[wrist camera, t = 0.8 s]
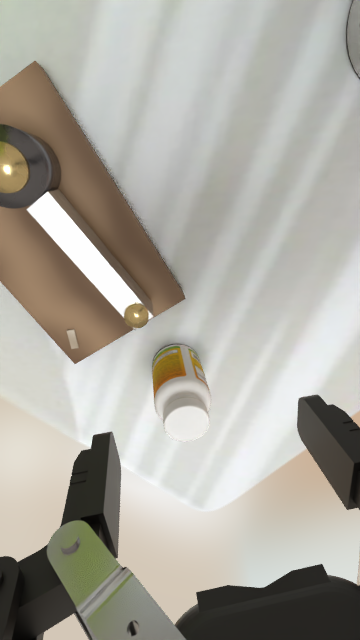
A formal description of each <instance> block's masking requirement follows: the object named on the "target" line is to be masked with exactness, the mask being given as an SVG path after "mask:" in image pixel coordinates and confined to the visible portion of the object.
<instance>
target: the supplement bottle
mask: <svg viewBox="0 0 360 640" xmlns="http://www.w3.org/2000/svg"><path fill="white" fill-rule="evenodd" d="M152 374H153V389H154V404H155V410H156V412H157V414H158V416H159V417H160V419H161V420H163V423H164V429H165V432H166V433H167V435H168V436H169V437H171V438H172V439H174V440H177V441H182V442H187V441H192V440H195V439H198V438H200V437H201V436H202V435H203V434H204V433H205V432H206V431H207V429H208V427H209V424H210V419H209V414H208V412H209V410H210V407H211V395H210V391H209V388H208V385H207V381H206V378H205V375H204V372H203V369H202V366H201V362H200V360H199V357H198V355H197V354H196V352H195V351H194V350H193V349H191V348H190V347H188V346H185V345H179V344H176V345H170V346H167V347H165V348H163V349H162V350H160V351H159V352H158V353H157V355H156V356H155V358H154V360H153V364H152Z"/></svg>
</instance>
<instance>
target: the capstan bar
mask: <svg viewBox="0 0 360 640" xmlns="http://www.w3.org/2000/svg"><path fill="white" fill-rule="evenodd" d="M60 181H61V168H60V163H59V160H58V158H57V156H56V154H55V152H54V151H53V149H52V148H51V147H50V146H49V145H48V144H47V143H46V142H45V141H44V140H42V139H41V138H39V137H38V136H36V135H33V134H31V133H28V132H25V131H22V130H20V129H17V128H14V127H12V126H8V125H5V124H0V206H1V207H5V208H11V209H16V208H23V207H26V206H30V205H31V206H30V207H29V208H28V209H27V211H28V212H29V213H30V214H31V215H32V216H33V217H34V218H35V220H36V221H37V222H38V223H39V224H40V225H41V226H42V227H43V228H44V230H45V231H46V232H47V233H48V234H49V235H50V236H51V237H52V239H53V240H54V241H55V242H56V243H57V244H58V245H59V246H60V247H61V249H62V250H63V251H64V252H65V253H66V254H67V255H68V256H69V257H70V259H71V260H72V261H73V262H74V263H75V264H76V265H77V266H78V267H79V269H80V270H81V271H82V272H83V273H84V274H85V275H86V276H87V277H88V279H89V280H90V281H91V282H92V283H93V284H94V285H95V286H96V287H97V289H98V290H99V291H100V292H101V293H102V294H103V295H104V296H105V297H106V299H107V300H108V301H109V302H110V303H111V304H112V305H113V306H114V307H115V309H116V310H117V311H118V312H119V313H120V314H121V315H122V316H123V317H124V320H125V322H126V324H127V325H128V326H130V327H132V328H133V329H134V330H135V329H137V328H141V327H143V326H145V325H146V324H147V322H148V320H149V319H151V318H152V317H153V305H152V301H151V300H150V299H149V297H148V296H147V295H146V294H145V293H144V291H143V290H142V289H141V288H140V287H139V285H138V284H137V283H136V282H135V281H134V279H133V278H132V277H131V276H130V275H129V273H128V272H127V271H126V270H125V268H124V267H123V266H122V265H121V264H120V262H119V261H118V260H117V259H116V258H115V256H114V255H113V254H112V253H111V252H110V250H109V249H108V248H107V247H106V246H105V244H104V243H103V242H102V241H101V240H100V238H99V237H98V236H97V235H96V233H95V232H94V231H93V230H92V229H91V227H90V226H89V225H88V224H87V223H86V221H85V220H84V219H83V218H82V217H81V215H80V214H79V213H78V212H77V211H76V209H75V208H74V207H73V206H72V204H71V203H70V202H69V201H68V200H67V198H66V197H65V196H64V195H63V194H62V192H61V191H60V190H57V189H58V187H59V185H60Z"/></svg>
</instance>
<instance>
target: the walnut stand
mask: <svg viewBox="0 0 360 640" xmlns="http://www.w3.org/2000/svg"><path fill="white" fill-rule="evenodd" d="M0 124H5V125H8V126H12V127H14V128H17V129H20V130H22V131H25V132H28V133H31V134H33V135H36V136H38V137H39V138H41V139H42V140H44V141H45V142H46V143H47V144H48V145H49V146H50V147H51V148H52V149H53V151H54V152H55V154H56V156H57V158H58V160H59V163H60V168H61V181H60V185H59V187H58V189H57V190H60V191H61V192H62V194H63V195H64V196H65V197H66V198H67V200H68V201H69V202H70V203H71V204H72V206H73V207H74V208H75V209H76V211H77V212H78V213H79V214H80V215H81V217H82V218H83V219H84V220H85V221H86V223H87V224H88V225H89V226H90V227H91V229H92V230H93V231H94V232H95V233H96V235H97V236H98V237H99V238H100V240H101V241H102V242H103V243H104V244H105V246H106V247H107V248H108V249H109V250H110V252H111V253H112V254H113V255H114V256H115V258H116V259H117V260H118V261H119V262H120V264H121V265H122V266H123V267H124V268H125V270H126V271H127V272H128V273H129V275H130V276H131V277H132V278H133V279H134V281H135V282H136V283H137V284H138V285H139V287H140V288H141V289H142V290H143V291H144V293H145V294H146V295H147V296H148V297H149V299H150V300H151V301H152V305H153V317H152V318H154V317H155V316H157V315H159V314H160V313H162V312H164V311H165V310H167V309H169V308H171V307H172V306H174V305H176V304H177V303H179V302H181V301H182V300H184V299H185V296H184V293H183V291H182V289H181V288H180V286H179V285H178V283H177V282H176V280H175V278H174V277H173V275H172V274H171V272H170V270H169V269H168V267H167V266H166V264H165V262H164V261H163V259H162V258H161V256H160V254H159V253H158V251H157V250H156V248H155V246H154V245H153V243H152V242H151V240H150V238H149V237H148V235H147V234H146V232H145V230H144V229H143V227H142V226H141V224H140V223H139V221H138V219H137V218H136V216H135V215H134V213H133V211H132V210H131V208H130V207H129V205H128V203H127V202H126V200H125V199H124V197H123V195H122V194H121V192H120V191H119V189H118V187H117V186H116V184H115V183H114V181H113V179H112V178H111V176H110V175H109V173H108V172H107V170H106V168H105V167H104V165H103V164H102V162H101V160H100V159H99V157H98V156H97V154H96V152H95V151H94V149H93V148H92V146H91V144H90V143H89V141H88V140H87V138H86V136H85V135H84V133H83V132H82V130H81V128H80V127H79V125H78V124H77V122H76V120H75V119H74V117H73V116H72V114H71V113H70V111H69V109H68V108H67V106H66V105H65V103H64V101H63V100H62V98H61V97H60V95H59V93H58V92H57V90H56V89H55V87H54V85H53V84H52V82H51V81H50V79H49V77H48V76H47V74H46V73H45V71H44V69H43V68H42V67H41V66H40V65H39V64H38V63H37V62H36V61H34V62H33V63H31V64H30V65H29V66H27V67H26V68H25V69H23V70H22V71H21V72H19V73H18V74H17V75H15V76H14V77H13V78H11V79H10V80H9V81H7V82H6V83H5V84H3V85H2V86H1V87H0ZM30 206H31V205H30ZM30 206H26V207H23V208H16V209H11V208H5V207H1V206H0V281H1V283H2V284H3V285H4V286H5V287H6V288H7V289H8V290H9V291H10V293H11V294H12V295H13V296H14V297H15V298H16V299H17V300H18V301H19V303H20V304H21V305H22V306H23V307H24V308H25V309H26V310H27V311H28V312H29V314H30V315H31V316H32V317H33V318H34V319H35V320H36V321H37V322H38V324H39V325H40V326H41V327H42V328H43V329H44V330H45V331H46V332H47V334H48V335H49V336H50V337H51V338H52V339H53V340H54V341H55V342H56V344H57V345H58V346H59V347H60V348H61V349H62V350H63V351H64V352H65V354H66V355H67V356H68V357H69V358H70V359H71V360H72V361H73V362H74V364H76V363H78V362H79V361H81V360H83V359H84V358H86V357H88V356H90V355H91V354H93V353H95V352H96V351H98V350H100V349H101V348H103V347H105V346H106V345H108V344H110V343H111V342H113V341H115V340H117V339H118V338H120V337H122V336H123V335H125V334H127V333H128V332H130V331H132V330H133V328H132V327H130V326H128V325H127V324H126V322H125V320H124V317H123V316H122V315H121V314H120V313H119V312H118V311H117V310H116V309H115V307H114V306H113V305H112V304H111V303H110V302H109V301H108V300H107V299H106V297H105V296H104V295H103V294H102V293H101V292H100V291H99V290H98V289H97V287H96V286H95V285H94V284H93V283H92V282H91V281H90V280H89V279H88V277H87V276H86V275H85V274H84V273H83V272H82V271H81V270H80V269H79V267H78V266H77V265H76V264H75V263H74V262H73V261H72V260H71V259H70V257H69V256H68V255H67V254H66V253H65V252H64V251H63V250H62V249H61V247H60V246H59V245H58V244H57V243H56V242H55V241H54V240H53V239H52V237H51V236H50V235H49V234H48V233H47V232H46V231H45V230H44V228H43V227H42V226H41V225H40V224H39V223H38V222H37V221H36V220H35V218H34V217H33V216H32V215H31V214H30V213H29V212H28V211H27V209H28V208H29V207H30ZM152 318H151V319H152ZM149 320H150V319H149ZM149 320H148V321H149Z"/></svg>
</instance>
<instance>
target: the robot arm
mask: <svg viewBox="0 0 360 640" xmlns="http://www.w3.org/2000/svg"><path fill="white" fill-rule="evenodd" d="M347 44H348V50H349V56H350V59H351V62H352V65H353V67H354V70H355V71H356V73H357V74H358V76H359V77H360V0H353V3H352V6H351V9H350V14H349V20H348V26H347ZM297 428H298V432H299V435H300V438H301V440H302V441H303V443H304V445H305V446H306V448H307V449H308V451H309V452H310V454H311V455H312V457H313V458H314V460H315V461H316V463H317V464H318V466H319V467H320V469H321V471H322V472H323V474H324V475H325V476H326V478H327V480H328V481H329V483H330V484H331V485H332V487H333V489H334V490H335V492H336V493H337V495H338V497H339V498H340V500H341V501H342V503H343V504H344V506H345V507H346V509H347V510H349V509H354V508H359V510H360V428H359V427H358V425H357V424H356V423H355V422H353V420H352V419H351V418H350V417H349V416H348V414H347V413H346V412H345V411H343V410H341V409H340V408H338V407H336V406H335V405H333V404H332V405H327V404H326V403H325V402H324V401H323V399H322V398H321V397H320V396H319V395H312V396H307V397H301V398H299V401H298V419H297ZM120 485H121V465H120V459H119V455H118V451H117V447H116V443H115V439H114V436H113V433H112V432H107V433H102V434H96V435H94V436H93V439H92V446H91V449H88V450H83V451H81V453H80V454H79V455H78V457H77V459H76V460H75V462H74V466H73V470H72V476H71V480H70V486H69V489H68V494H67V499H66V504H65V509H64V513H63V518H62V523H61V526H60V528H59V529H58V530H57V531H56V532H55V533H54V534H53V536H52V537H51V539H50V541H49V543H48V545H46V546H45V547H44V548H42V549H41V550H39V551H38V552H36V553H34V554H32V555H30V556H28V557H26V558H24V559H22V560H21V561H19V562H17V561H16V560H15V559H14V558H12V557H8V556H4V557H0V640H43V634H44V632H45V631H46V630H48V629H49V628H51V627H53V626H54V625H56V624H57V623H59V622H61V621H62V620H64V619H65V618H67V617H69V616H70V615H72V614H73V613H74V615H75V616H76V618H77V620H78V622H79V623H80V625H81V627H82V628H83V630H84V632H85V634H86V636H87V637H88V639H89V640H360V555H359V569H358V578H357V584H355V583H353V582H351V581H348V580H346V579H343V578H340V577H336V576H331V575H327V573H326V571H325V569H324V567H323V565H322V564H320V565H315V566H311V567H307V568H302V569H298V570H293V571H291V572H289V573H288V574H286V575H284V576H283V577H281V578H279V579H278V580H276V581H274V582H273V583H271V584H270V585H268V586H266V587H264V588H254V587H242V586H230V585H227V586H223V587H219V588H214V589H210V590H205V591H201V592H197V593H196V594H197V600H198V604H197V605H195V606H193V607H192V608H190V609H189V610H188V611H187V612H185V613H184V614H183V615H182V617H181V618H180V619H179V620H178V621H177V622H176V624H175V625H174V624H173V623H172V621H171V620H170V619H169V618H168V616H167V615H166V614H165V613H164V611H163V610H162V609H161V608H160V607H159V605H158V604H157V603H156V602H155V600H154V599H153V598H152V597H151V596H150V594H149V593H148V592H147V590H146V589H145V588H144V587H143V585H142V584H141V583H140V582H139V580H138V579H137V578H136V577H135V575H134V574H133V573H132V572H131V571H130V570H129V569H128V568H127V567H124V568H123V567H122V566H121V565H120V564H119V563H118V561H117V560H116V559H115V558H118V537H119V536H118V535H119V512H120V511H119V510H120V487H121V486H120Z"/></svg>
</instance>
